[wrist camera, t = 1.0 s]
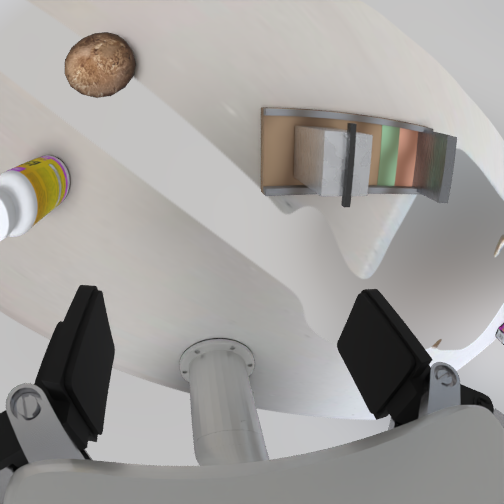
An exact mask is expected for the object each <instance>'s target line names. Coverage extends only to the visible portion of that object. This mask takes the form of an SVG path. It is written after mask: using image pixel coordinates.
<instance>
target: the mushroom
mask: <svg viewBox="0 0 504 504" xmlns="http://www.w3.org/2000/svg"><path fill="white" fill-rule="evenodd" d="M135 65H136V63H135V59H134V55H133V51H132V50H131V48H130V47H129V45H128V44H127V43H126V41H124V40H123V39H122V38H121V37H120V36H118V35H115V34H111V33H108V32H104V33H95V34H92V35H90V36H87V37H85V38H83V39H81V40H80V41H79V42H78V43H77V44H75V46H73V47H72V48H71V50H70V52H69V53H68V55H67V58H66V59H65V75H66V78H67V80H68V82H69V84H70V86H71V87H72V88H74V89H75V90H77V91H78V92H80V93H81V94H83V95H87V96H91V97H96V98H98V97H105V96H111V95H113V94H115V93H116V92H118V91H120V90H121V89H123V88H125V87H126V85H127V84H128V83H129V81H130V80H131V79H132V77H133V75H134V70H135Z"/></svg>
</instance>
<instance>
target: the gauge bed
mask: <svg viewBox="0 0 504 504" xmlns="http://www.w3.org/2000/svg"><path fill="white" fill-rule="evenodd" d="M347 123H354V124H357V126H356V132H360V133H365V134H370V135H373V138H372V152H371V164H370V174H369V184H368V192H367V194H420V193H418V192H416V191H417V189H416V188H414V187H412V184H413V176H414V169H415V160H416V151H417V139H418V131H419V132H423V130H428V131H433V129H431V128H428V127H425V126H420V125H416V124H411V123H406V122H401V121H396V120H390V119H385V118H379V117H372V116H366V115H358V114H351V113H342V112H333V111H322V110H310V109H293V108H261V192H262V193H263V194H264V195H265V196H276V195H302V194H317V193H316V192H314V191H313V190H312V189H310V188H309V187H307V186H306V185H304V184H303V183H302V182H300V181H299V180H297V179H296V178H294V150H295V126H312V127H328V128H338V129H344V130H347Z"/></svg>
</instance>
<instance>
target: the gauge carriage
mask: <svg viewBox="0 0 504 504" xmlns="http://www.w3.org/2000/svg"><path fill="white" fill-rule="evenodd" d="M356 126H357V124H354V123H347V130H344V129H338V128H328V127H312V126H295V150H294V178H296V179H297V180H299V181H300V182H302V183H303V184H304V185H306V186H307V187H309V188H310V189H312V190H313V191H314V192H316V193H317V194H318V195H320V196H342V206H343V207H350V202H351V196H367V192H368V184H369V174H370V164H371V152H372V138H373V135H370V134H365V133H360V132H356Z"/></svg>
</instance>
